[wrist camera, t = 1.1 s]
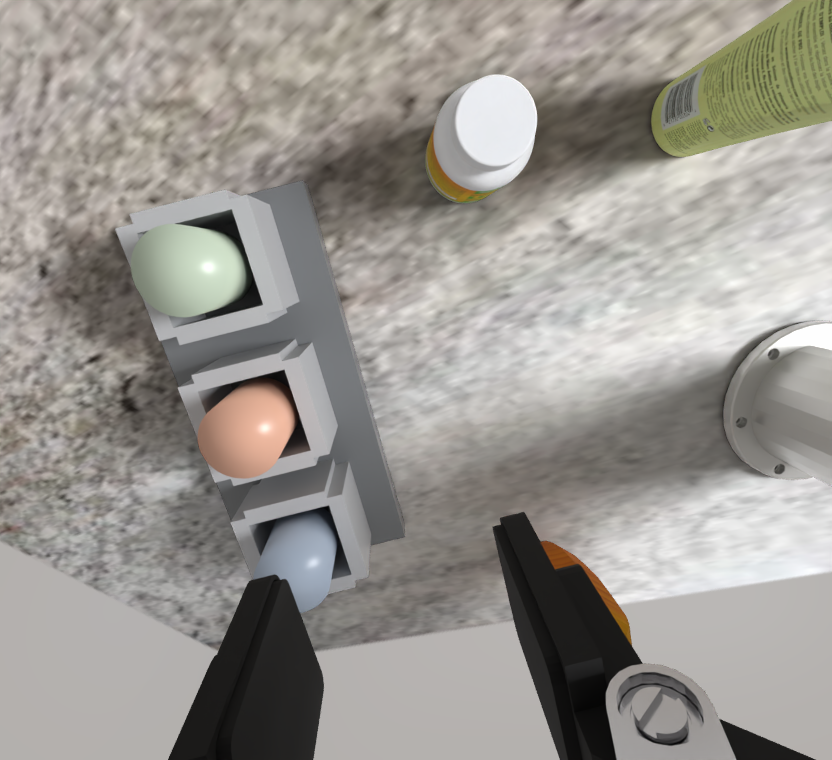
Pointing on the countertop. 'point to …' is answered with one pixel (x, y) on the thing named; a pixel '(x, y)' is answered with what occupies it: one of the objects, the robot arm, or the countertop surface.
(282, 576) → the button slate
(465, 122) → the supplement bottle
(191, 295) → the button sage
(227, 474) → the button terracotta
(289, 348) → the three-cup grey tray
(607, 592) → the carrot
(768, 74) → the tube
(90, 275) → the countertop surface
